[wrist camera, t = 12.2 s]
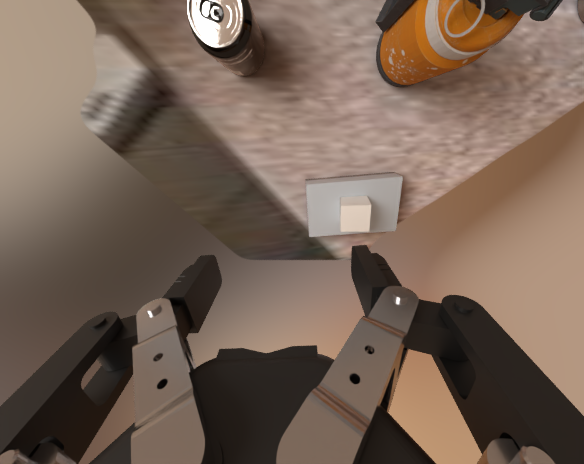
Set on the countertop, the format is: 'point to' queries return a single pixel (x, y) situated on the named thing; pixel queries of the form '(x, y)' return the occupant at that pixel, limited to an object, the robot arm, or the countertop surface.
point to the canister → (445, 34)
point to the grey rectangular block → (328, 191)
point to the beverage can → (228, 33)
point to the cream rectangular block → (355, 214)
